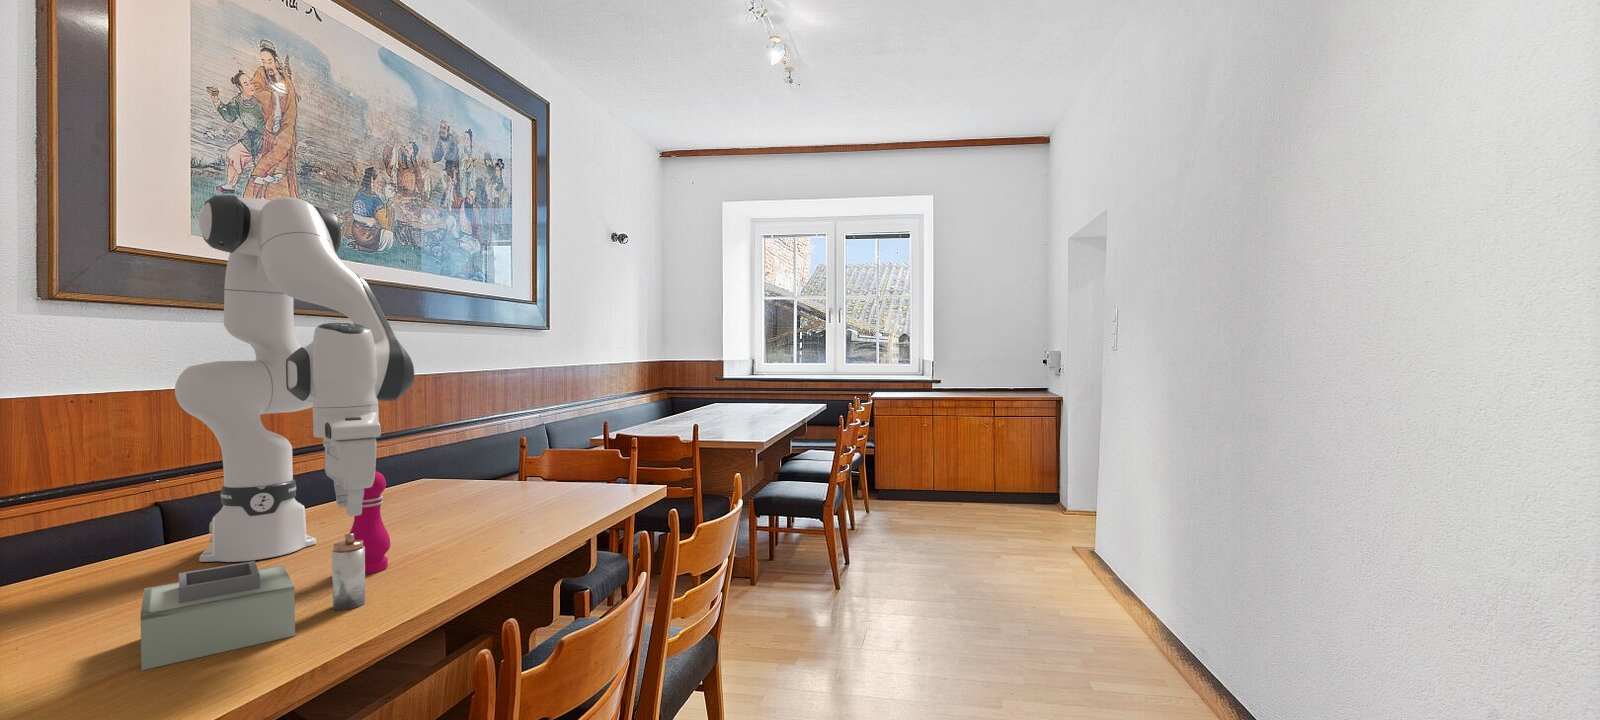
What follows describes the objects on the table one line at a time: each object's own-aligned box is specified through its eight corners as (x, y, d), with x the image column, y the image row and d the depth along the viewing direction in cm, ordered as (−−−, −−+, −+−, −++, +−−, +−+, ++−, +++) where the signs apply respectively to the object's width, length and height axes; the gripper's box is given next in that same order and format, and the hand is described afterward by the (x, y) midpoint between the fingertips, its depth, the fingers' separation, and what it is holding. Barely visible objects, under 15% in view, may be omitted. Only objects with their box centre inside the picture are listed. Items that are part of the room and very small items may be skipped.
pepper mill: (369, 576, 126) (367, 466, 126) (335, 574, 127) (333, 465, 127) (399, 564, 133) (398, 460, 133) (367, 562, 134) (365, 459, 134)
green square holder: (145, 637, 100) (144, 574, 100) (284, 608, 110) (283, 552, 110) (141, 670, 89) (140, 600, 89) (295, 635, 100) (294, 573, 100)
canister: (330, 604, 112) (329, 532, 112) (362, 598, 115) (361, 528, 115) (335, 612, 109) (334, 538, 109) (367, 605, 112) (367, 533, 112)
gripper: (313, 422, 117) (315, 504, 117) (333, 430, 102) (336, 524, 102) (357, 419, 121) (359, 498, 121) (383, 426, 106) (385, 517, 106)
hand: (348, 510), depth 112 cm, fingers open, 8 cm apart
